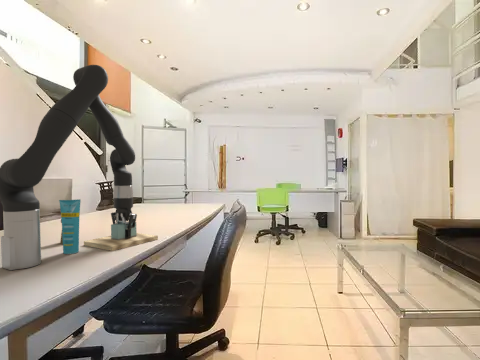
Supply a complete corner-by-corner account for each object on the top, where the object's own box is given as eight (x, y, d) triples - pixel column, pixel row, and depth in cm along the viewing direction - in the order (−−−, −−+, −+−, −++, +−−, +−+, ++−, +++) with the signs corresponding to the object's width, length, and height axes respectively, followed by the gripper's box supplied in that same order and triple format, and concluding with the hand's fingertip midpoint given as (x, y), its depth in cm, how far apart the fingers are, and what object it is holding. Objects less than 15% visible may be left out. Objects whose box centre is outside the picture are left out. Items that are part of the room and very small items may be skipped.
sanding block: (118, 240, 121) (117, 225, 121) (111, 239, 123) (110, 224, 123) (136, 236, 128) (136, 222, 128) (129, 235, 131) (129, 221, 130)
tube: (57, 254, 106) (55, 200, 106) (63, 251, 111) (62, 199, 110) (79, 253, 107) (78, 199, 107) (84, 250, 112) (83, 198, 111)
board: (112, 250, 111) (112, 246, 111) (83, 245, 120) (83, 241, 120) (157, 239, 129) (157, 235, 129) (130, 235, 139) (129, 231, 139)
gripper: (104, 196, 126) (105, 237, 126) (127, 197, 118) (127, 241, 119) (120, 195, 132) (120, 234, 132) (142, 196, 125) (142, 237, 125)
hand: (124, 237), depth 126 cm, fingers closed on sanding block, 4 cm apart
